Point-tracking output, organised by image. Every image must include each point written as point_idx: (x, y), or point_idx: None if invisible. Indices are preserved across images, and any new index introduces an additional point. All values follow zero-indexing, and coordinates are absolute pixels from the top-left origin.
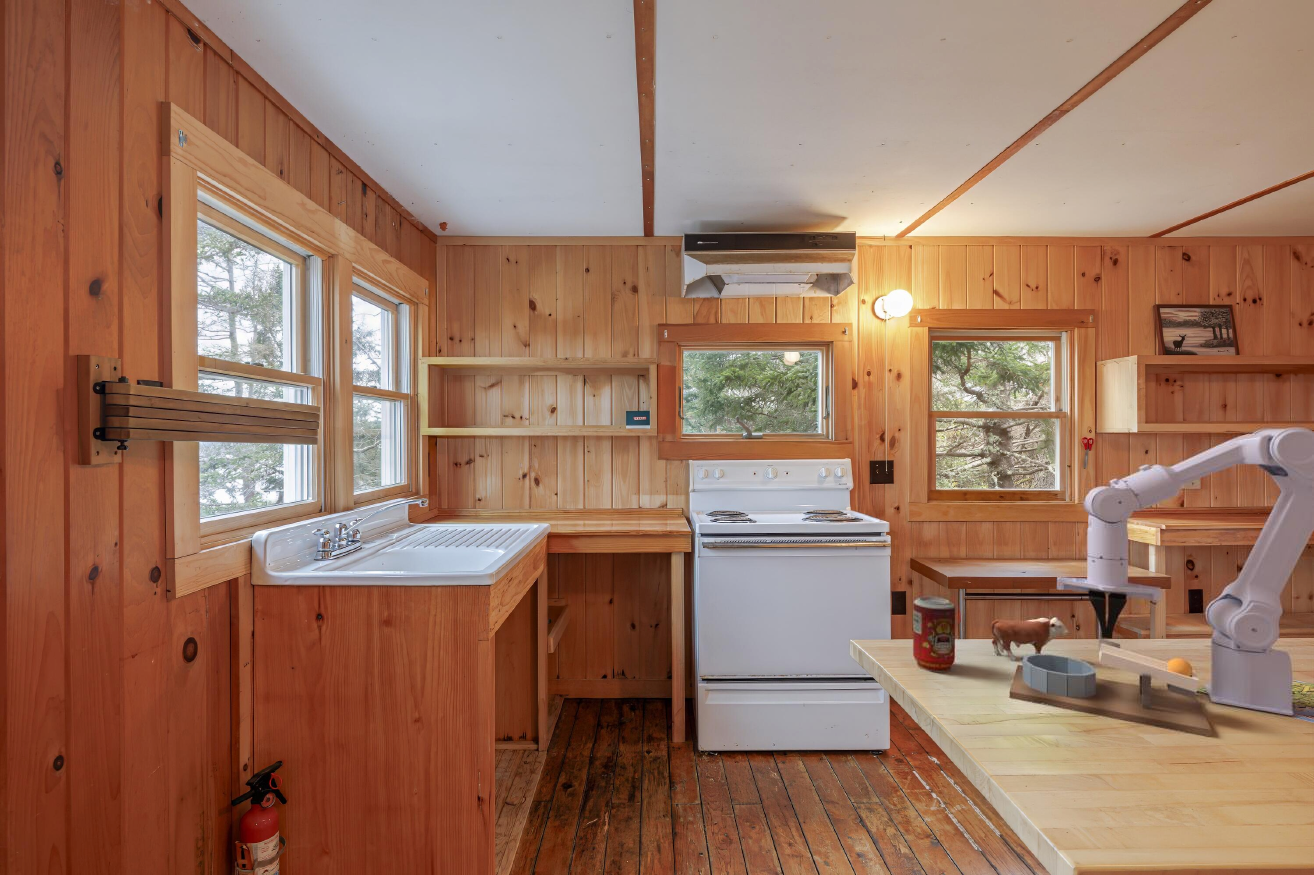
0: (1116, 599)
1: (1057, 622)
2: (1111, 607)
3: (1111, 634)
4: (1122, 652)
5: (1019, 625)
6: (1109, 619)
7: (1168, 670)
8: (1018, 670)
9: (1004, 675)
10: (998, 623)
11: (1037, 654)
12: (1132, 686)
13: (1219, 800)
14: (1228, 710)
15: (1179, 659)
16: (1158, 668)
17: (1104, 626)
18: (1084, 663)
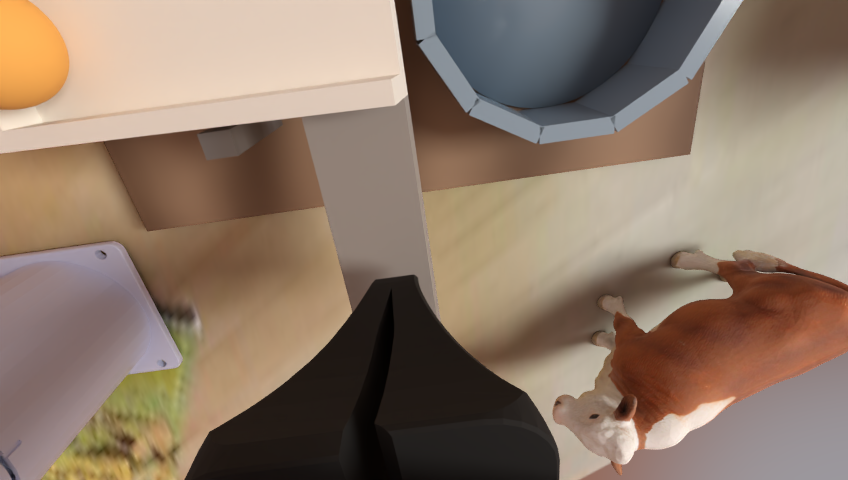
0: (258, 468)
1: (611, 431)
2: (338, 394)
3: (370, 287)
4: (283, 92)
5: (756, 350)
6: (371, 336)
7: (53, 27)
8: (693, 77)
9: (730, 46)
10: None
11: (675, 80)
12: (316, 180)
13: None
14: (69, 203)
15: None
16: None
17: (403, 302)
18: (469, 85)
